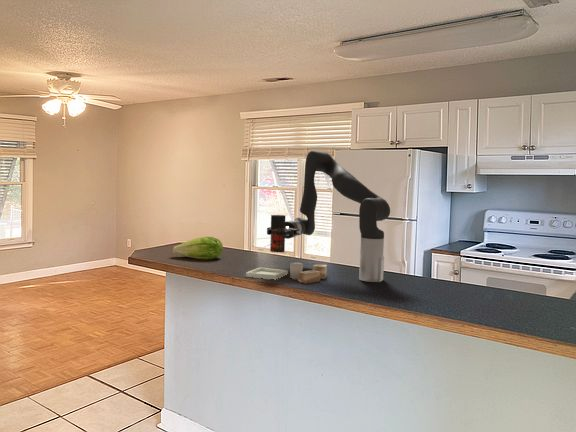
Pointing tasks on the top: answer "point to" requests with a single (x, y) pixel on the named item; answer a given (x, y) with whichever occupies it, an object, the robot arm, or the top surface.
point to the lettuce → (200, 248)
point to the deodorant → (277, 233)
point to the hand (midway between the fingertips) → (275, 232)
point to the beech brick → (309, 276)
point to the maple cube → (321, 270)
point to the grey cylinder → (295, 270)
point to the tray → (267, 273)
